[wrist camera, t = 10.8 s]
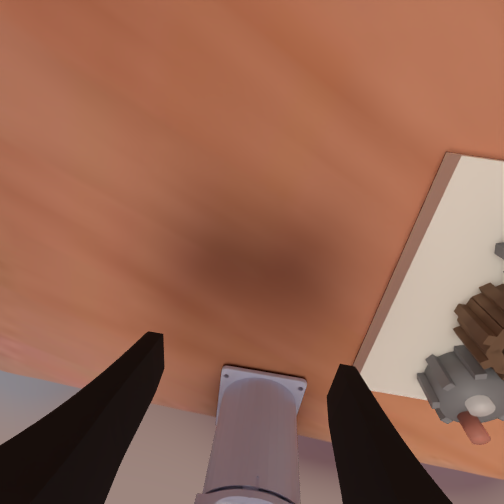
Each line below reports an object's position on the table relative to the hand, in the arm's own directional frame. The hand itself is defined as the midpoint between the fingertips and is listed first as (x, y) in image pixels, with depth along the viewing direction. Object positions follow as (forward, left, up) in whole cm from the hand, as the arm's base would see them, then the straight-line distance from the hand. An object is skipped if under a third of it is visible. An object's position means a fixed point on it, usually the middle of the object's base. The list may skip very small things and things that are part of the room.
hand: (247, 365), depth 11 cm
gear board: (-1, -17, -10) cm, 19 cm away
